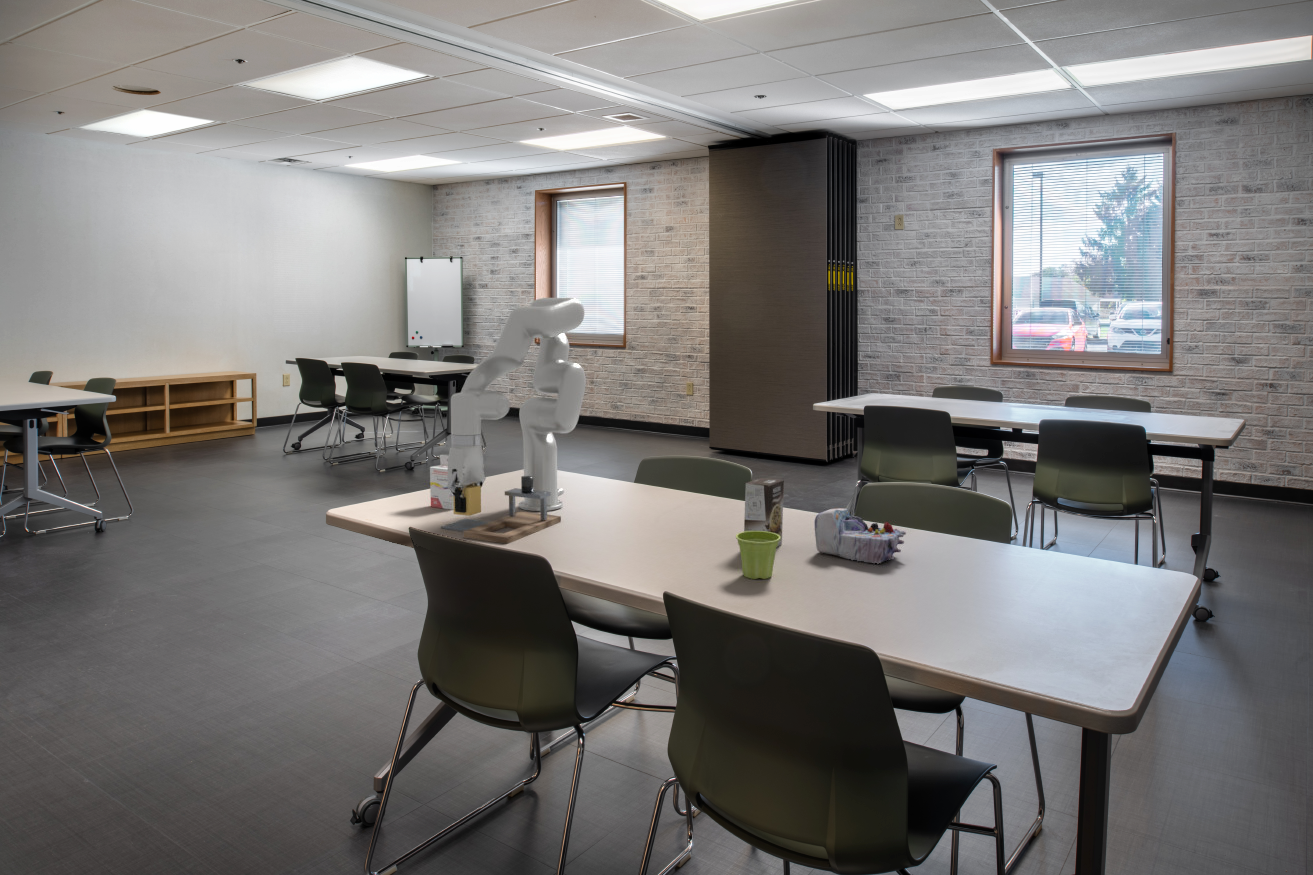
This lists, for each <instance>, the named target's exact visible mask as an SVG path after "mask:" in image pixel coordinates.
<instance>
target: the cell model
mask: <svg viewBox="0 0 1313 875" xmlns="http://www.w3.org/2000/svg"><path fill="white" fill-rule="evenodd" d="M878 524H879V523H877V522H875V523H874V522H872V523H871V525H870V526H868V524H867V523H866V522H865V521H864V520H863V519H862V517H859V516H855V515H851V514H850V510H848V509H847V508H839V507H838V508H830V509H828V510H824V511H822V512H819V513H818V514H816V515H815V518H814V536H815V537H814V538H815V546H816V550H817V551H818V552H819V553H823V554H829V555H834V556H836V557H840V558H843V559H846V560H849V559H851V560H850V561H853V560H857V561H856V562H858V561H864V562H863V563H872V564H875V563H877V564H876V565H878V564H879V563H880V564H882V563H886V562H888V561H890V560H895V556H894V554H895V553H901V552H902V550H901V549H900V548H898V545H904V544H905V541H904V540H902V539H900V538H903V537H904V536H906V534H907V532H906V531H905V530H899V529H897V528H893V525H892V524H890V522H888V521H885V522H884V524H883V527H879V525H878ZM889 559H890V560H889ZM887 560H888V561H887ZM885 561H886V562H885ZM881 562H882V563H881ZM880 564H879V565H880Z"/></svg>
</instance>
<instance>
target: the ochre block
mask: <svg viewBox="0 0 1313 875" xmlns="http://www.w3.org/2000/svg"><path fill="white" fill-rule="evenodd" d="M458 489H459V490H460V491H461V488H460V487H459V488H458ZM464 497H466V512H465V513H461V512H455V497H453V506H454V510H453V515H459V516H467V517H470V516H474V515H477V514H481V513H482V487H481V486H476V485H467V486H466V489H465V495H464Z"/></svg>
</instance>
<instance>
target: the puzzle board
mask: <svg viewBox="0 0 1313 875" xmlns="http://www.w3.org/2000/svg"><path fill="white" fill-rule="evenodd" d="M488 522H489V523H486V524H483V525H481V526H478V527H475V528H472V529H470V530H467V531H462V532H463V538H464V539H471V540H477V541H478V540H479V541H485V542H493V543H501V544H510V543H513V542H515V541H518V540H520V539H522V538H525V537H528V536H530V535H532V534H534V533H536V532H540V531H542V530H545V529H547V528H549V527H551V526H553V525H557V524H559V523H561V522H562V516H560V515H554V514H547V520H541V513H536V512H527V511H517V512H516V516H509V515H507V516H506V515H505V516H503V517H500V518H498V519H495V520H492V521H488ZM503 528H510V529H512V530H510V531H506V532H504V533H499V532H495V531H498V530H501V529H503Z"/></svg>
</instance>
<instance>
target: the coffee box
mask: <svg viewBox="0 0 1313 875" xmlns="http://www.w3.org/2000/svg"><path fill="white" fill-rule="evenodd" d="M784 481H785V480H784V479H778V478H764V477H760V478H757V479H754V480H751V481H748V482H745V491H744V492H745V493H744V518H743V519H744V526H743V529H744V530H743V532H746V531H766V532H772V533H775V534H778V535H779V536H780V540H779V541H778V545H777V547H779V546H782V545H783V520H784V519H783V518H784V517H783V516H784V487H785V486H784ZM777 547H776V548H777Z"/></svg>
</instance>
